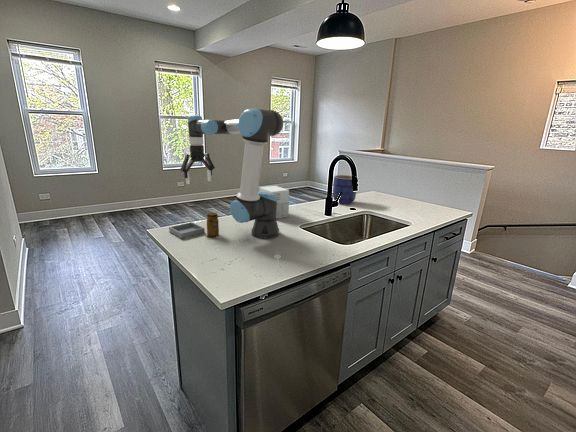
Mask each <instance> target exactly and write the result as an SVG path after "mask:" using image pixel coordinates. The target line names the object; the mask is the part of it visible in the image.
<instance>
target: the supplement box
mask: <svg viewBox="0 0 576 432" xmlns="http://www.w3.org/2000/svg"><path fill="white" fill-rule="evenodd" d="M258 192H269V193H273V194H275V195H276V196H277V214H276V220H277V219H283V217H284V218H289V209H290V189H287V188H284V187H280V186H278V185H267V186H258Z"/></svg>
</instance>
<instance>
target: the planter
mask: <svg viewBox="0 0 576 432" xmlns="http://www.w3.org/2000/svg"><path fill="white" fill-rule="evenodd" d="M352 176H353V175H346V174H337V175H334V176H333V183H332V184H333V185H332V195H333V194H334V198H333V200H334V201H335V200H336V199H337V197H338V195H339V193H341V192H342V194H341V197H340V199H339V203H340V205H345V204H347V205H351V204H353V203H354V201H355V199H356V196H357V192H353V191H352ZM358 179H359V177H357V180H358ZM358 181H359V180H358Z"/></svg>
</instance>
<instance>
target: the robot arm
mask: <svg viewBox="0 0 576 432" xmlns="http://www.w3.org/2000/svg"><path fill="white" fill-rule="evenodd" d="M238 117H239V118H236V119H234V118H233V119H224V120H223V119H222V120H221V119H203V116H202V115H189V116H188V117H187V129H188V140H189V153H190V154H187V153H185V154H184V160H183V162H182V164H181V167H180V171H181V172H183V175H184V179H185V183H186V185H190V184H191V183H190V182H191V181H190V172H189V171H190V169H191V168H192V166H193V164H195V163H198V162H201V163H202V164H203V165H204V166H205V167H206V168H207V170H206V175H207V176H206V177H207V182H212V176H213V170H214V169H215V165H214V163H213V161H212V159H211V157H210V153H208V152H205V149H204V135H208V136H211V135H230V136H231V135H236V134H237V135H238V134H240V135H242V136H241V137H242V140H243V142H244V150H243V160H242V168H241V178H240V185H239V186H240V187H239V191H238V192H237V193H236V194H235V199H234V200H232V201H231V202H230V205H229V211H230V214H231V215H232V218H233V219H234V220H235V222H237V223H240V224H243V223H244V224H245V223H249V222H251V221H254V222H253V225H252V228H251V235H252V236H253V237H255V238H257V239H272V238H273V239H274V238H277V237H278V236H279V235H280V228H279V225H278V222H277V219H276V214H277V196H276V195H275V194H273V193H269V192H259V184H260V177H261V170H262V163H263V153H264V146H265V145H267V144H268V142H269V137H275V136H277V135H279V134H280V133H281V131H282V130H283V128H284V118H283V117H282V115H281V114H280V113H279V112H278V111H275V110H272V109H263V108H247V109H245V110H243V112H241V114H240V116H238ZM204 152H205V153H204Z"/></svg>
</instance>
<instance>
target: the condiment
mask: <svg viewBox="0 0 576 432" xmlns="http://www.w3.org/2000/svg"><path fill="white" fill-rule="evenodd" d="M219 227H220V226H219V217H218V213H216V212H209V213H207V215H206V233H204V235H205V237H206V238H207V239H208V240H213V239H222V238H223V237H222V235H221V234H220V228H219Z"/></svg>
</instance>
